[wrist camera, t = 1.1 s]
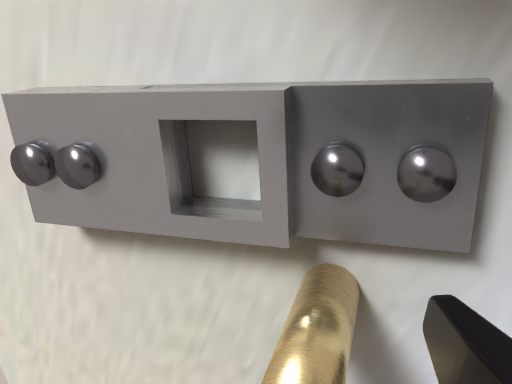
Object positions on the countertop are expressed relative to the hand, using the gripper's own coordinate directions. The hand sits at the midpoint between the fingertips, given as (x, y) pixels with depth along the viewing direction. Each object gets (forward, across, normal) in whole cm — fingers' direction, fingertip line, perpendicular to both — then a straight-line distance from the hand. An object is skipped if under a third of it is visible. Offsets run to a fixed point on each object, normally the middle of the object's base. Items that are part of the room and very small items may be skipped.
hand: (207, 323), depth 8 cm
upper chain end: (+14, +3, +3) cm, 15 cm away
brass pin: (+10, -5, +9) cm, 14 cm away
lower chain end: (+12, -4, +2) cm, 13 cm away
